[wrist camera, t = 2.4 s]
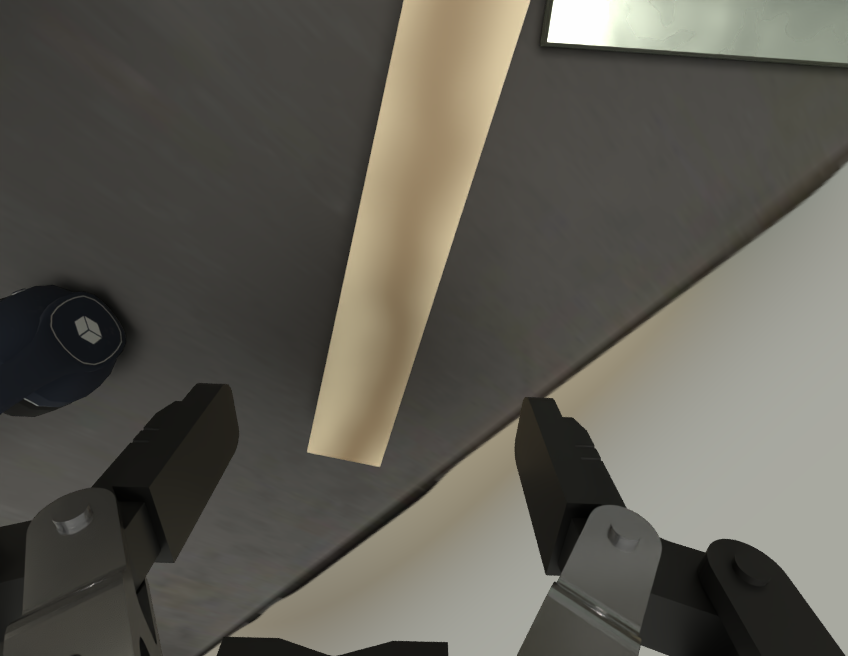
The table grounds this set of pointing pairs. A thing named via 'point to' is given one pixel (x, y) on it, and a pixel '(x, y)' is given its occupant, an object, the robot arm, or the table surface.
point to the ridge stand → (705, 28)
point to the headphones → (54, 348)
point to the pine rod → (410, 211)
